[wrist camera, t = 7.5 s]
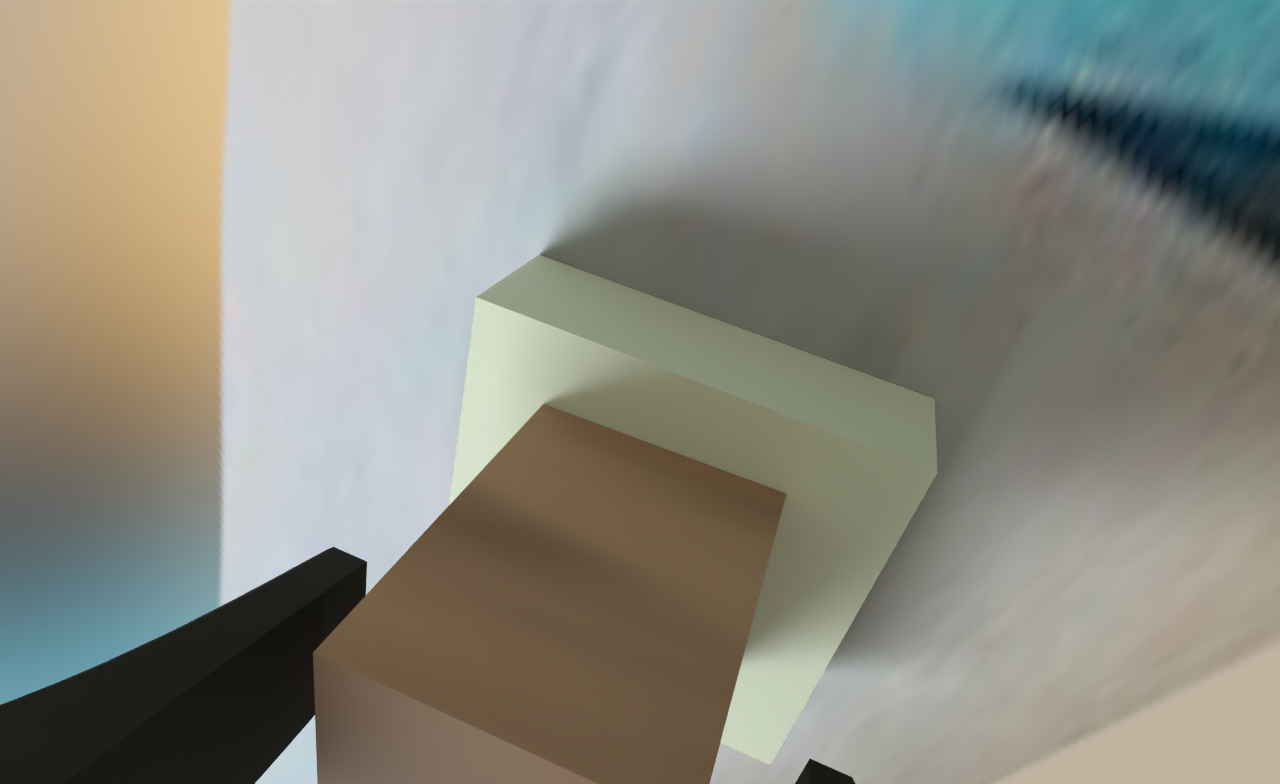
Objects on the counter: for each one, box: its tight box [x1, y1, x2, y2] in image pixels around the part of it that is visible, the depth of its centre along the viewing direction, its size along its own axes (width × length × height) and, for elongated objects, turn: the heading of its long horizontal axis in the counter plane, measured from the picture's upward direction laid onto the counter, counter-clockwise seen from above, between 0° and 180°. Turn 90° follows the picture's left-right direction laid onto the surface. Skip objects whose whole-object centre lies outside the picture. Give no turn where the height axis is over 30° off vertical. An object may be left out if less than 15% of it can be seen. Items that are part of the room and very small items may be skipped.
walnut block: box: [313, 404, 786, 784], centre depth 11 cm, size 4×4×6 cm
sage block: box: [449, 255, 938, 765], centre depth 15 cm, size 8×8×3 cm
